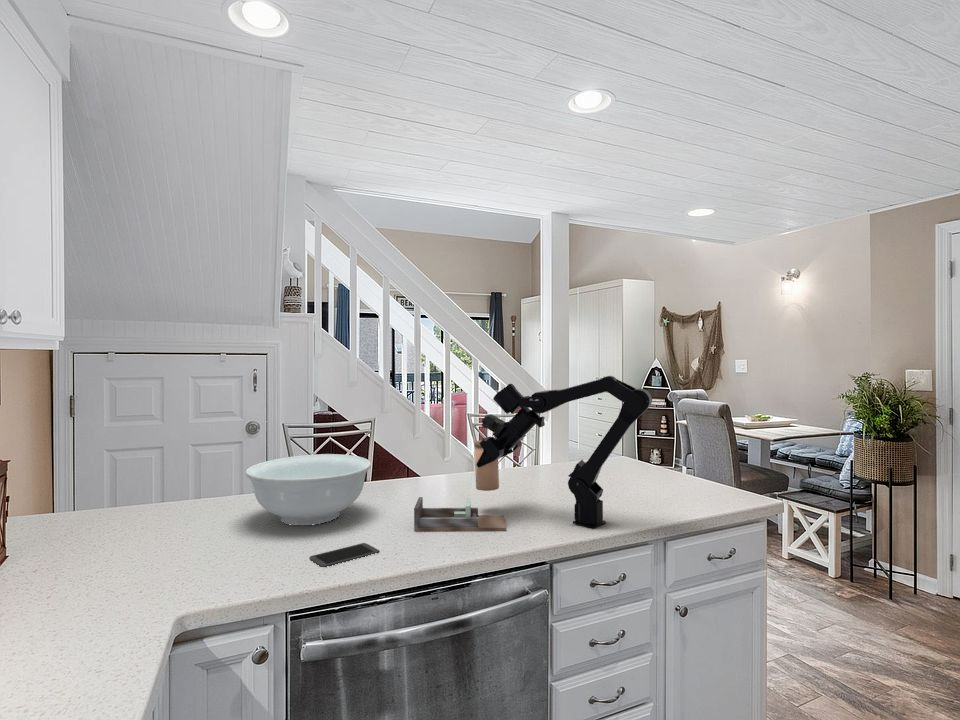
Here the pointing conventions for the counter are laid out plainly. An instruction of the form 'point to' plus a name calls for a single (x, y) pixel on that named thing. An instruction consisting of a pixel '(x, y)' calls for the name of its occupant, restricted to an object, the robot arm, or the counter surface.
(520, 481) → the counter surface
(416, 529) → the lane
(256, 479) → the bowl
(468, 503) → the block
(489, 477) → the jar
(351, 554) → the cell phone
